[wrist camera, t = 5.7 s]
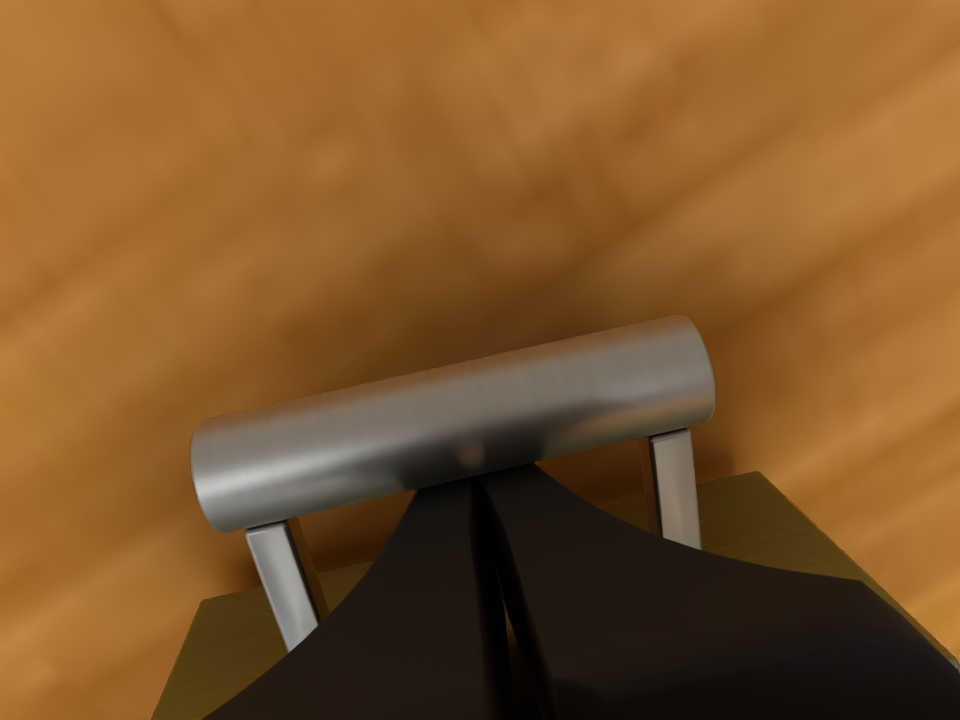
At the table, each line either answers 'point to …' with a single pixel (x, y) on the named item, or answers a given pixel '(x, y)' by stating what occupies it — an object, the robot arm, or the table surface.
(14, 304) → the table surface
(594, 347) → the drawer
